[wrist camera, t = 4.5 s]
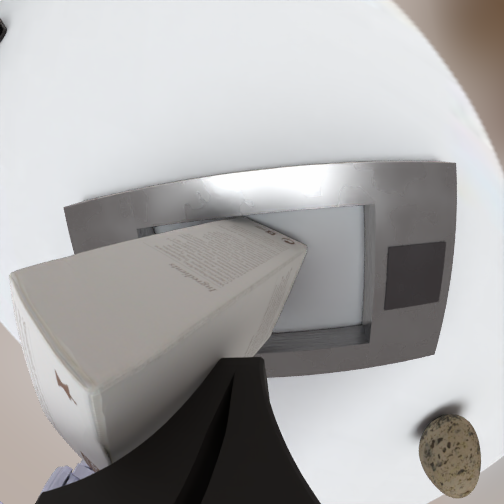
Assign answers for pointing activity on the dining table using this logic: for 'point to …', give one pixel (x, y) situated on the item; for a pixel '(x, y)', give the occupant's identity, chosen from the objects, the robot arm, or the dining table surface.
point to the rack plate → (311, 197)
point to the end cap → (2, 30)
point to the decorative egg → (451, 455)
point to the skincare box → (146, 325)
